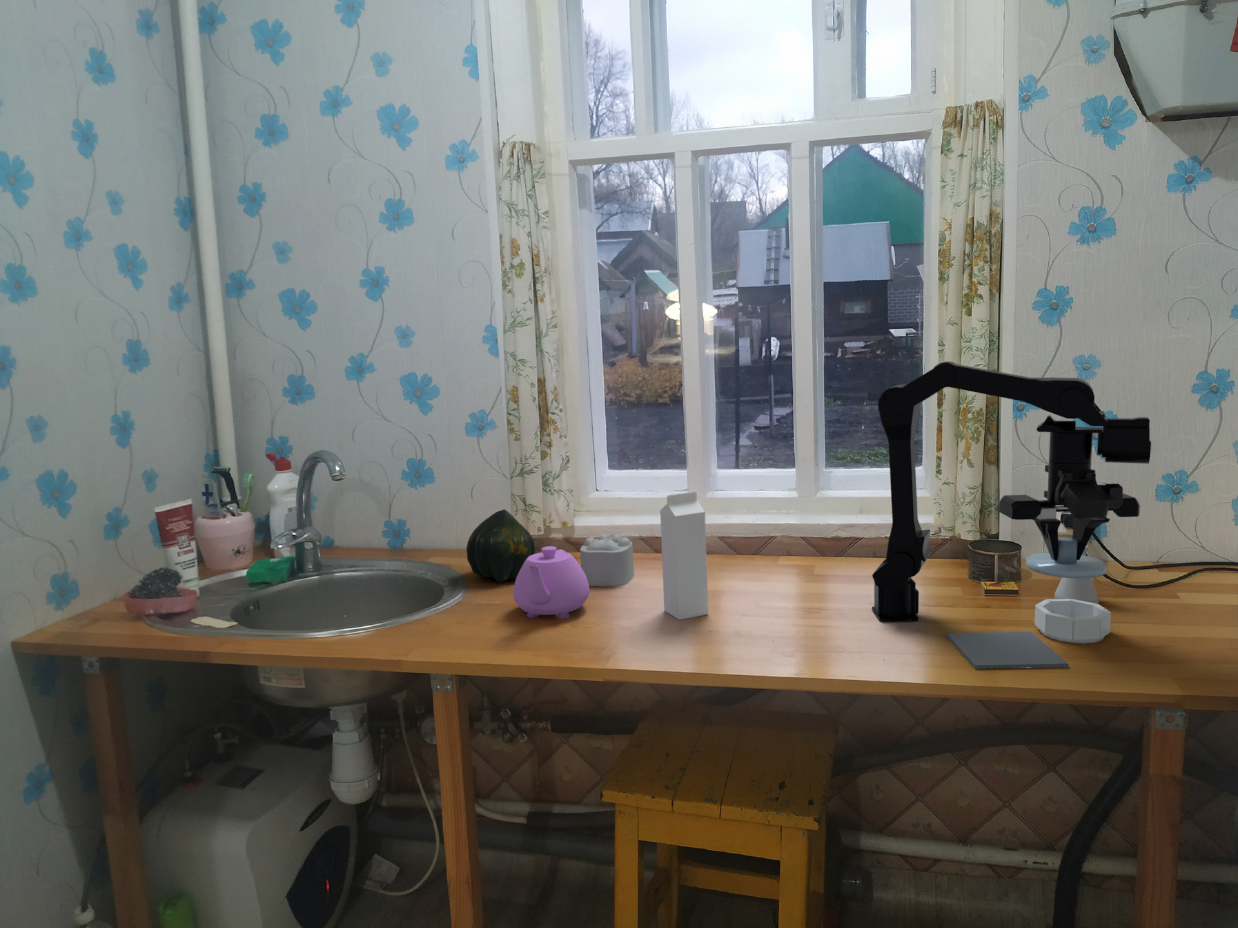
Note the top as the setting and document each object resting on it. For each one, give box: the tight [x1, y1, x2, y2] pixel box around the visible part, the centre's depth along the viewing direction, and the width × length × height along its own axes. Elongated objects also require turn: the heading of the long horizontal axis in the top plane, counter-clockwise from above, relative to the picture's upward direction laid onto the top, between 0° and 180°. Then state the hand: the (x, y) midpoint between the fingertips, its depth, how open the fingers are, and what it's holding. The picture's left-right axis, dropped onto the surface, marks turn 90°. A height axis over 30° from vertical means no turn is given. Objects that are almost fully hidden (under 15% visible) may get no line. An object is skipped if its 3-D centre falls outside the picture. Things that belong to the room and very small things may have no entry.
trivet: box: [946, 630, 1070, 670], centre depth 126 cm, size 13×13×1 cm
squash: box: [466, 509, 536, 583], centre depth 178 cm, size 14×15×15 cm
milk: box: [659, 491, 709, 621], centre depth 148 cm, size 6×6×22 cm
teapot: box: [512, 545, 591, 620], centre depth 153 cm, size 20×14×12 cm
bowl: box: [1034, 598, 1112, 645], centre depth 131 cm, size 10×10×4 cm
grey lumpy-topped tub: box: [579, 533, 635, 587], centre depth 174 cm, size 10×13×9 cm
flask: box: [1053, 544, 1100, 604], centre depth 146 cm, size 7×7×10 cm
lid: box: [1025, 537, 1107, 579], centre depth 129 cm, size 11×11×4 cm
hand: (1065, 559), depth 129 cm, fingers closed on lid, 3 cm apart
